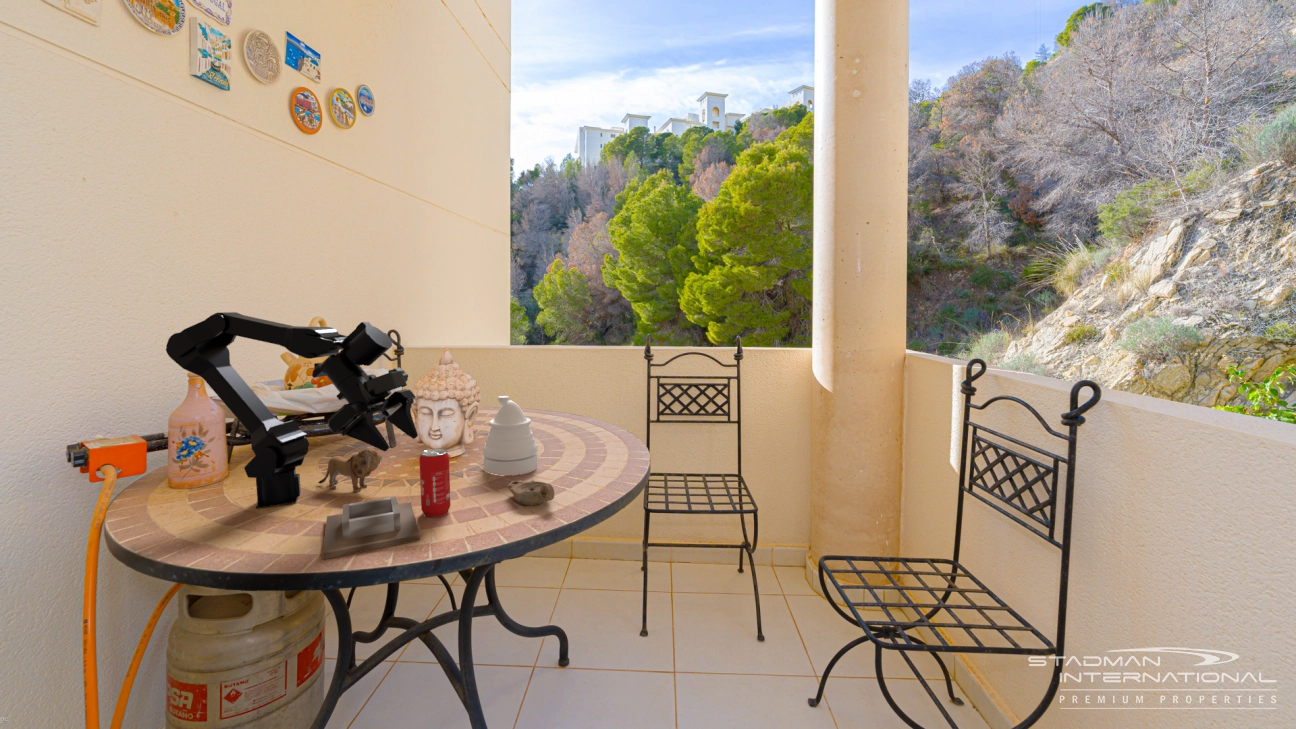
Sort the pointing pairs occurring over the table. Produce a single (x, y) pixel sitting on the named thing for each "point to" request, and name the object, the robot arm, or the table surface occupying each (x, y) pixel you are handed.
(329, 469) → the lion figurine
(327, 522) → the can socket board
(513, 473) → the honey pot
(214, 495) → the table surface
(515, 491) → the oil lamp
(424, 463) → the beverage can
